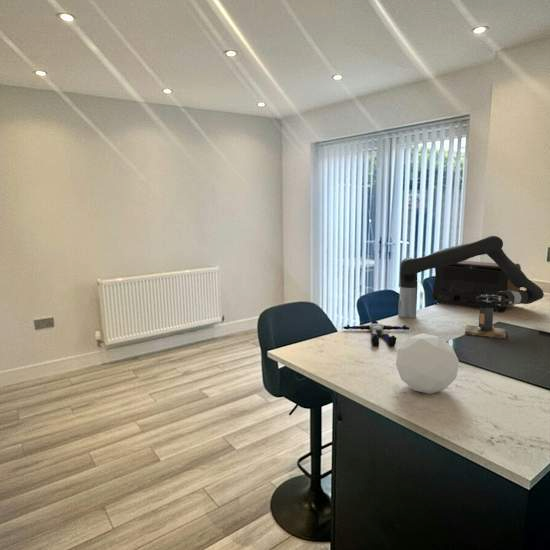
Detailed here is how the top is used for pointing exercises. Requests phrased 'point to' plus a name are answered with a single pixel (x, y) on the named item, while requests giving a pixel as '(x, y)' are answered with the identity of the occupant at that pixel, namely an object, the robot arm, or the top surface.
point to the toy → (379, 332)
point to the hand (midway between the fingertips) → (483, 301)
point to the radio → (470, 284)
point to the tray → (477, 331)
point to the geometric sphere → (427, 363)
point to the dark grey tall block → (486, 318)
